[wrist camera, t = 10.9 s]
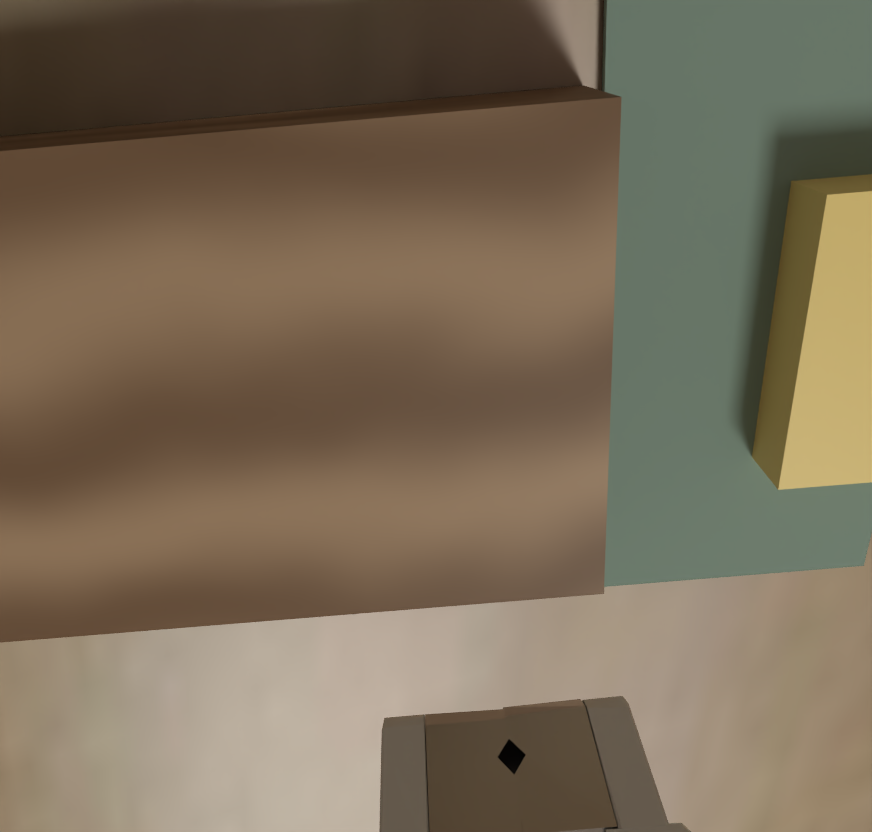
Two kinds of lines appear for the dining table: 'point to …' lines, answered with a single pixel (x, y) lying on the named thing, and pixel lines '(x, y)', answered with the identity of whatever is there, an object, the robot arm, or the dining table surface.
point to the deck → (306, 362)
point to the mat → (719, 274)
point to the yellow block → (820, 341)
